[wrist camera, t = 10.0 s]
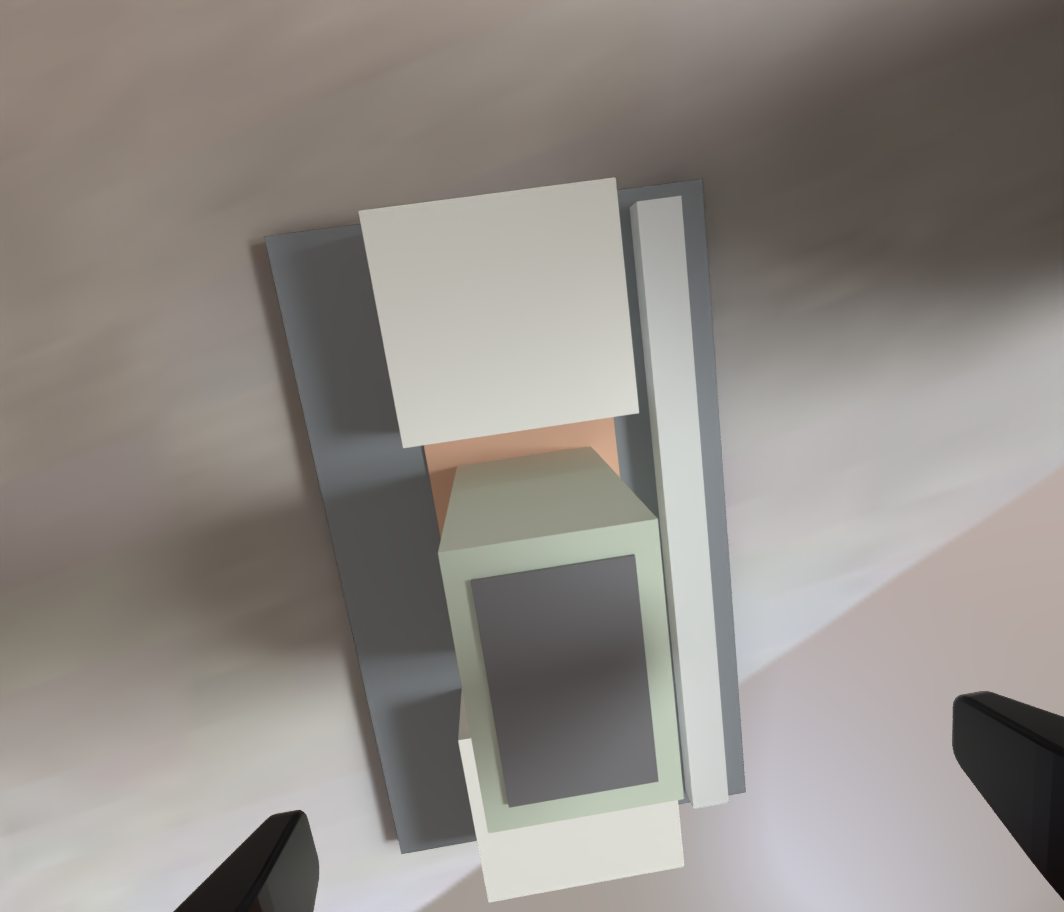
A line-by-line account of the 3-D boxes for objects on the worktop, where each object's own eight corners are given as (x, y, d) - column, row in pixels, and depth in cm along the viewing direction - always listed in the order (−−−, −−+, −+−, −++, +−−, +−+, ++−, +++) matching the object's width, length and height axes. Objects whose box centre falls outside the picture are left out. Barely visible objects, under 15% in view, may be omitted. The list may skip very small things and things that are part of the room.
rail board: (694, 183, 17) (739, 152, 14) (738, 779, 21) (780, 854, 18) (272, 239, 16) (223, 218, 13) (404, 839, 21) (389, 926, 18)
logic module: (591, 446, 18) (659, 520, 11) (612, 629, 19) (685, 802, 12) (457, 466, 17) (437, 554, 10) (487, 649, 19) (488, 837, 12)
